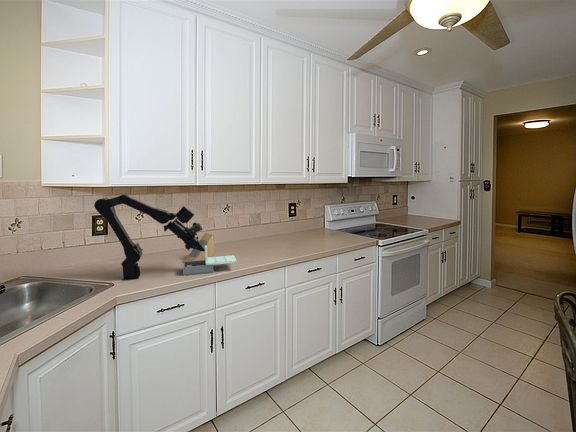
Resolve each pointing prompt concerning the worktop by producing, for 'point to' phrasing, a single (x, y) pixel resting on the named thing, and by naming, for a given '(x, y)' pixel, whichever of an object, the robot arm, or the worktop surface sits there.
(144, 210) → the robot arm
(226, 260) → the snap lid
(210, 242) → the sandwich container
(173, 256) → the worktop surface
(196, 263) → the parts tub
